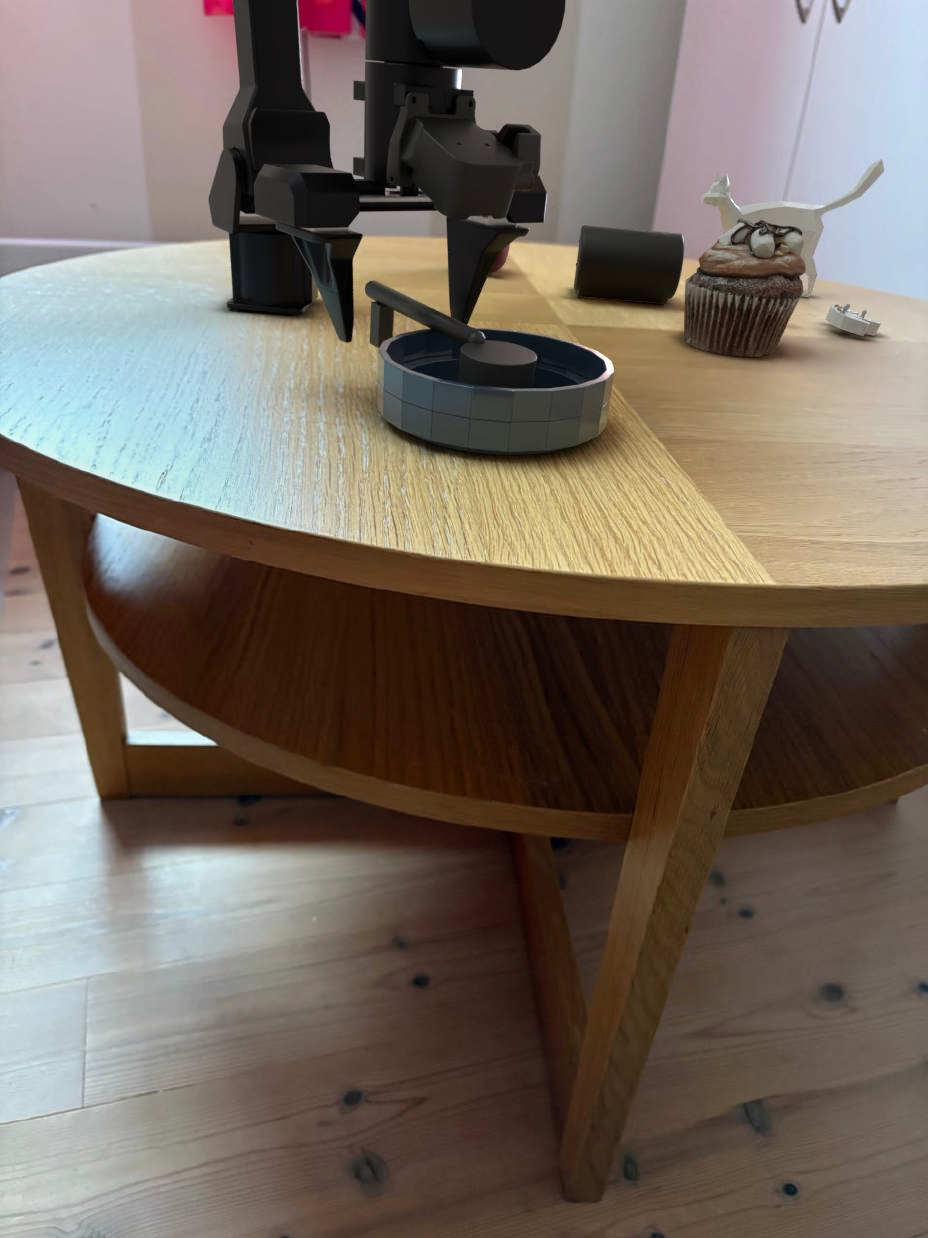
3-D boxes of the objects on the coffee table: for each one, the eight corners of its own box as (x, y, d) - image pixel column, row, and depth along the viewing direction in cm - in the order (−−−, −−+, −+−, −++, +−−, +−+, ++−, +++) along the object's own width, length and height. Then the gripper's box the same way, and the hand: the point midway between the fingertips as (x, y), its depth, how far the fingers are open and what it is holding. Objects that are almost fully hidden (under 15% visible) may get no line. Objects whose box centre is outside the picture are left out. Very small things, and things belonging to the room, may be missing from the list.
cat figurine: (678, 284, 101) (704, 144, 94) (838, 291, 104) (875, 157, 97) (692, 292, 97) (720, 147, 90) (858, 299, 101) (898, 160, 93)
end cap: (574, 302, 88) (583, 229, 84) (569, 289, 94) (578, 219, 90) (674, 311, 88) (688, 237, 84) (663, 296, 94) (676, 227, 90)
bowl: (361, 449, 49) (361, 377, 47) (393, 379, 61) (394, 319, 59) (612, 471, 49) (624, 400, 47) (595, 396, 61) (604, 337, 59)
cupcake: (710, 326, 83) (735, 209, 78) (806, 350, 77) (839, 226, 72) (651, 338, 77) (674, 213, 72) (751, 366, 71) (782, 231, 66)
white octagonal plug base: (888, 340, 83) (897, 312, 82) (775, 338, 81) (782, 308, 80) (856, 325, 88) (864, 298, 86) (748, 322, 86) (754, 294, 84)
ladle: (339, 339, 63) (340, 280, 61) (393, 334, 66) (396, 276, 63) (485, 427, 52) (493, 358, 50) (544, 415, 55) (554, 349, 52)
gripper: (344, 55, 42) (344, 383, 50) (622, 82, 52) (585, 351, 60) (243, 50, 49) (257, 336, 57) (503, 74, 59) (484, 315, 67)
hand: (404, 335), depth 60 cm, fingers open, 9 cm apart
